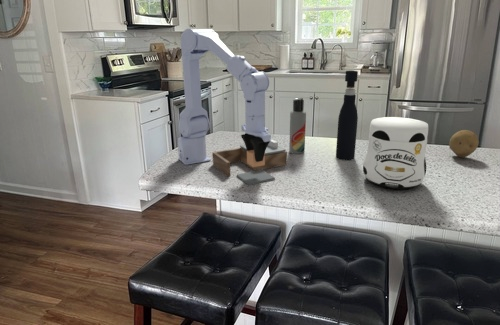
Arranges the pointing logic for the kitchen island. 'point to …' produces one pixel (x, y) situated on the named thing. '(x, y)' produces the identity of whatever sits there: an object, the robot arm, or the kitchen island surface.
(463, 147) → the potato
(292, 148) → the lotion bottle
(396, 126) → the doce de leite jar
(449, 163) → the kitchen island surface
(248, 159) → the block
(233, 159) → the wooden box
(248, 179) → the mat
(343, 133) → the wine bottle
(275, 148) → the slide cover
